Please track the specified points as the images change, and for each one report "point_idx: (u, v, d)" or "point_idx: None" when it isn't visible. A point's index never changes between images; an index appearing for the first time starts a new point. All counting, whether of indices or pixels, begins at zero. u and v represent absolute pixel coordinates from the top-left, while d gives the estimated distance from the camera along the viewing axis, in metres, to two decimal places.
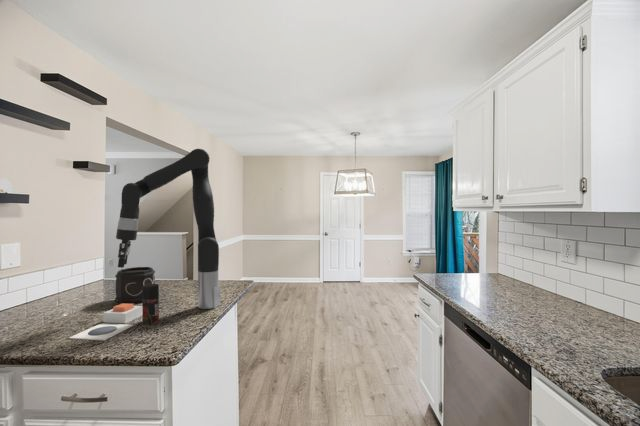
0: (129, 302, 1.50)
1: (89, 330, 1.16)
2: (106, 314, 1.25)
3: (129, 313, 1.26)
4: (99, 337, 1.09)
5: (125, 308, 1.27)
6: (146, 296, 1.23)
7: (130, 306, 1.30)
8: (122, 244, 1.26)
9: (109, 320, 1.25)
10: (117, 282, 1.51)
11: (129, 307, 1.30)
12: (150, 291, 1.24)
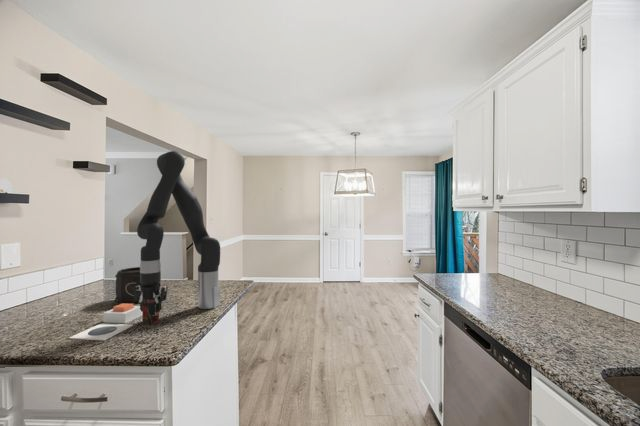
0: (129, 302, 1.50)
1: (89, 330, 1.16)
2: (106, 314, 1.25)
3: (129, 313, 1.26)
4: (99, 337, 1.09)
5: (125, 308, 1.27)
6: (146, 296, 1.23)
7: (130, 306, 1.30)
8: (165, 288, 1.25)
9: (109, 320, 1.25)
10: (117, 282, 1.51)
11: (129, 307, 1.30)
12: (150, 291, 1.24)
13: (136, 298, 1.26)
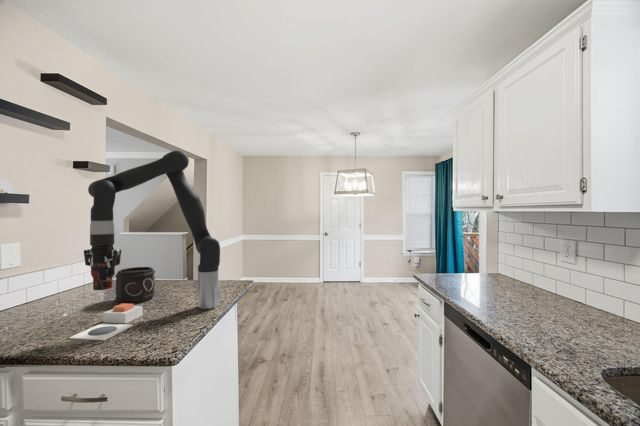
0: (129, 302, 1.50)
1: (89, 330, 1.16)
2: (106, 314, 1.25)
3: (129, 313, 1.26)
4: (99, 337, 1.09)
5: (125, 308, 1.27)
6: (96, 260, 1.13)
7: (130, 306, 1.30)
8: (117, 251, 1.14)
9: (109, 320, 1.25)
10: (117, 282, 1.51)
11: (129, 307, 1.30)
12: (101, 254, 1.13)
13: (86, 262, 1.15)
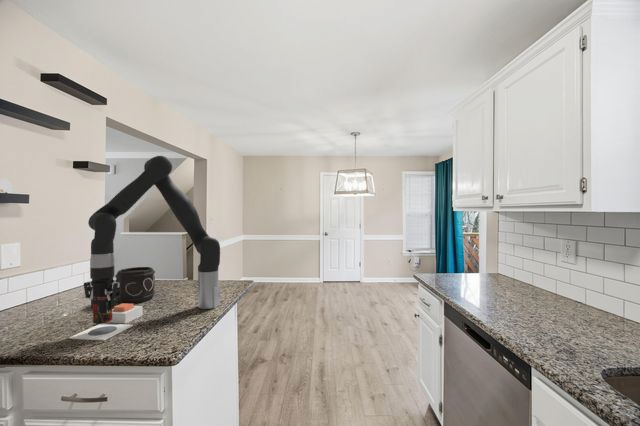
0: (129, 302, 1.50)
1: (89, 330, 1.16)
2: None
3: (129, 313, 1.26)
4: (99, 337, 1.09)
5: (125, 308, 1.27)
6: (96, 293, 1.13)
7: (130, 306, 1.30)
8: (118, 284, 1.14)
9: None
10: (117, 282, 1.52)
11: (129, 307, 1.30)
12: (101, 288, 1.13)
13: (86, 295, 1.15)
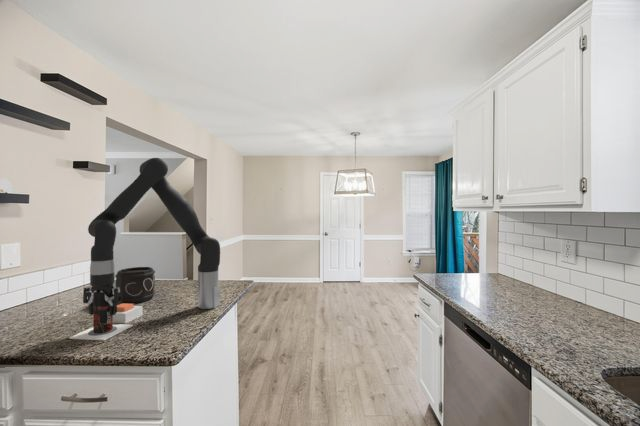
0: (129, 302, 1.50)
1: (89, 330, 1.16)
2: None
3: (129, 313, 1.26)
4: (99, 337, 1.09)
5: (125, 308, 1.27)
6: (97, 303, 1.13)
7: (130, 306, 1.30)
8: (118, 289, 1.14)
9: None
10: (117, 282, 1.51)
11: (129, 307, 1.30)
12: (102, 297, 1.13)
13: (84, 300, 1.15)
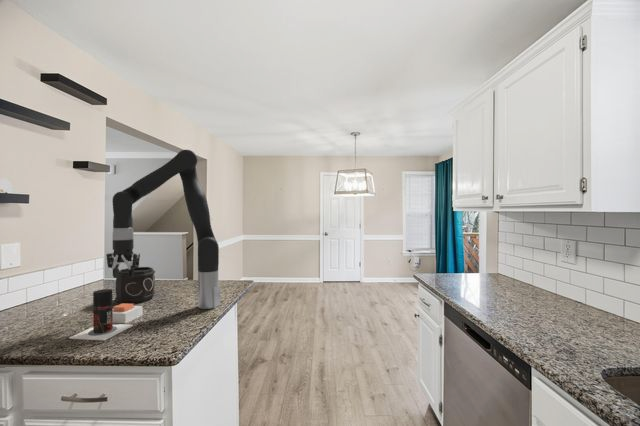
0: (129, 302, 1.50)
1: (89, 330, 1.16)
2: None
3: (129, 313, 1.26)
4: (99, 337, 1.09)
5: (125, 308, 1.27)
6: (97, 303, 1.13)
7: (130, 306, 1.30)
8: (137, 255, 1.28)
9: None
10: (117, 282, 1.52)
11: (129, 307, 1.30)
12: (101, 297, 1.13)
13: (109, 265, 1.29)
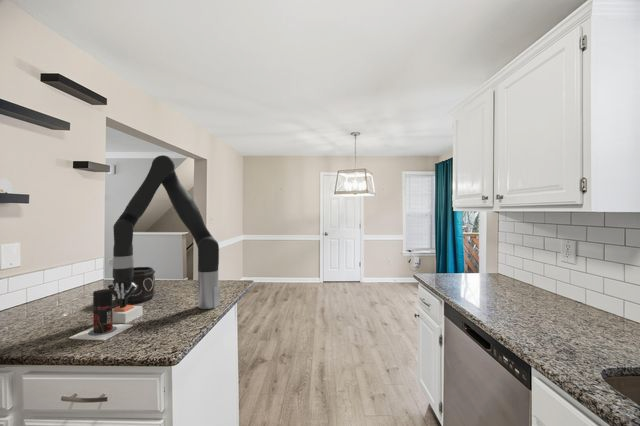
0: (129, 302, 1.50)
1: (89, 330, 1.16)
2: None
3: (129, 313, 1.26)
4: (99, 337, 1.09)
5: (125, 310, 1.27)
6: (97, 303, 1.13)
7: (130, 308, 1.30)
8: (135, 287, 1.29)
9: None
10: None
11: (129, 308, 1.30)
12: (101, 297, 1.13)
13: (115, 294, 1.29)
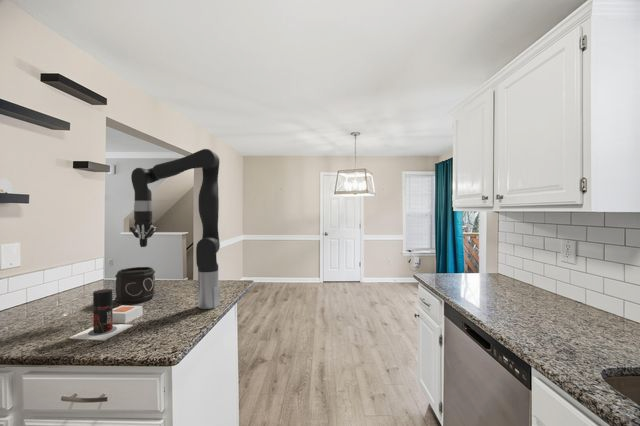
0: (129, 302, 1.50)
1: (89, 330, 1.16)
2: None
3: (129, 313, 1.26)
4: (99, 337, 1.09)
5: (125, 311, 1.27)
6: (97, 303, 1.13)
7: None
8: (154, 229, 1.44)
9: None
10: (117, 282, 1.52)
11: None
12: (101, 297, 1.13)
13: (136, 235, 1.44)
